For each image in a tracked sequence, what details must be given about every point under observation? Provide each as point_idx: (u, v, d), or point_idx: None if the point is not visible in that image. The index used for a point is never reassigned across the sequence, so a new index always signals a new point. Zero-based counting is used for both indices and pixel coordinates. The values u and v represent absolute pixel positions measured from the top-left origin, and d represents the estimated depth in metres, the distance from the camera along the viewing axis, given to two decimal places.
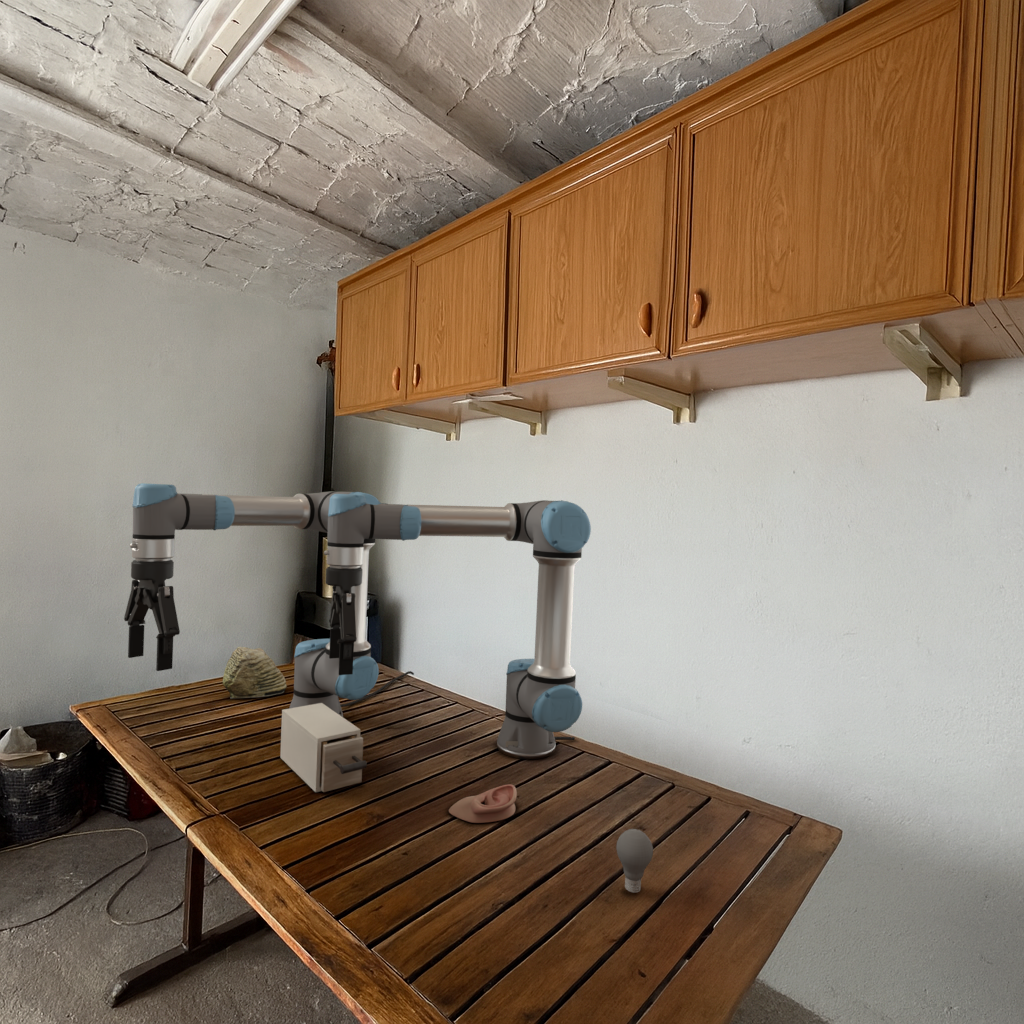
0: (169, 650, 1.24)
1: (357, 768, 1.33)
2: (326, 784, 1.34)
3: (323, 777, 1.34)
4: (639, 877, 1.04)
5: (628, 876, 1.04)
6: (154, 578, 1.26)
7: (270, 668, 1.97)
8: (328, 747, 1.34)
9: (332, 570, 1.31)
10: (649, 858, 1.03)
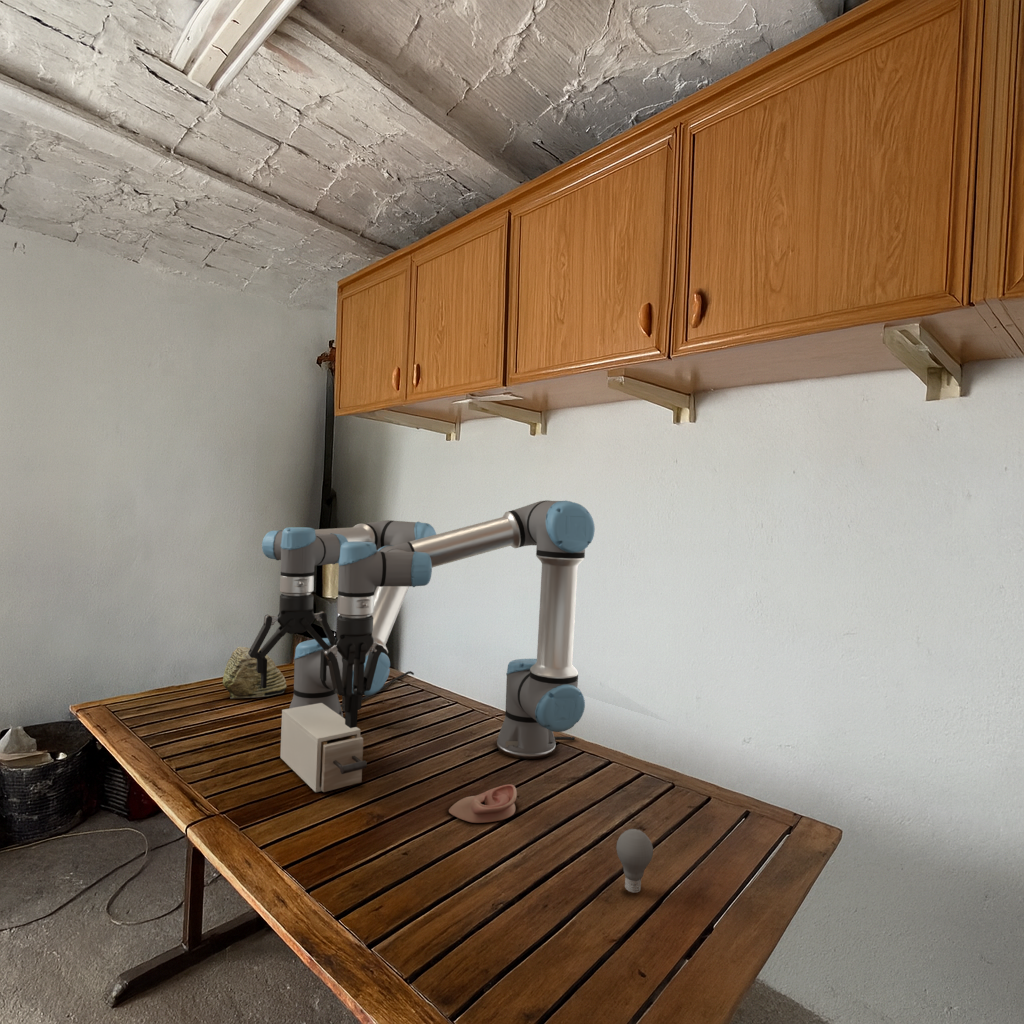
0: None
1: (357, 768, 1.33)
2: (326, 784, 1.34)
3: (323, 777, 1.34)
4: (639, 877, 1.04)
5: (628, 876, 1.04)
6: None
7: (270, 668, 1.97)
8: (328, 747, 1.34)
9: (371, 619, 1.33)
10: (649, 858, 1.03)
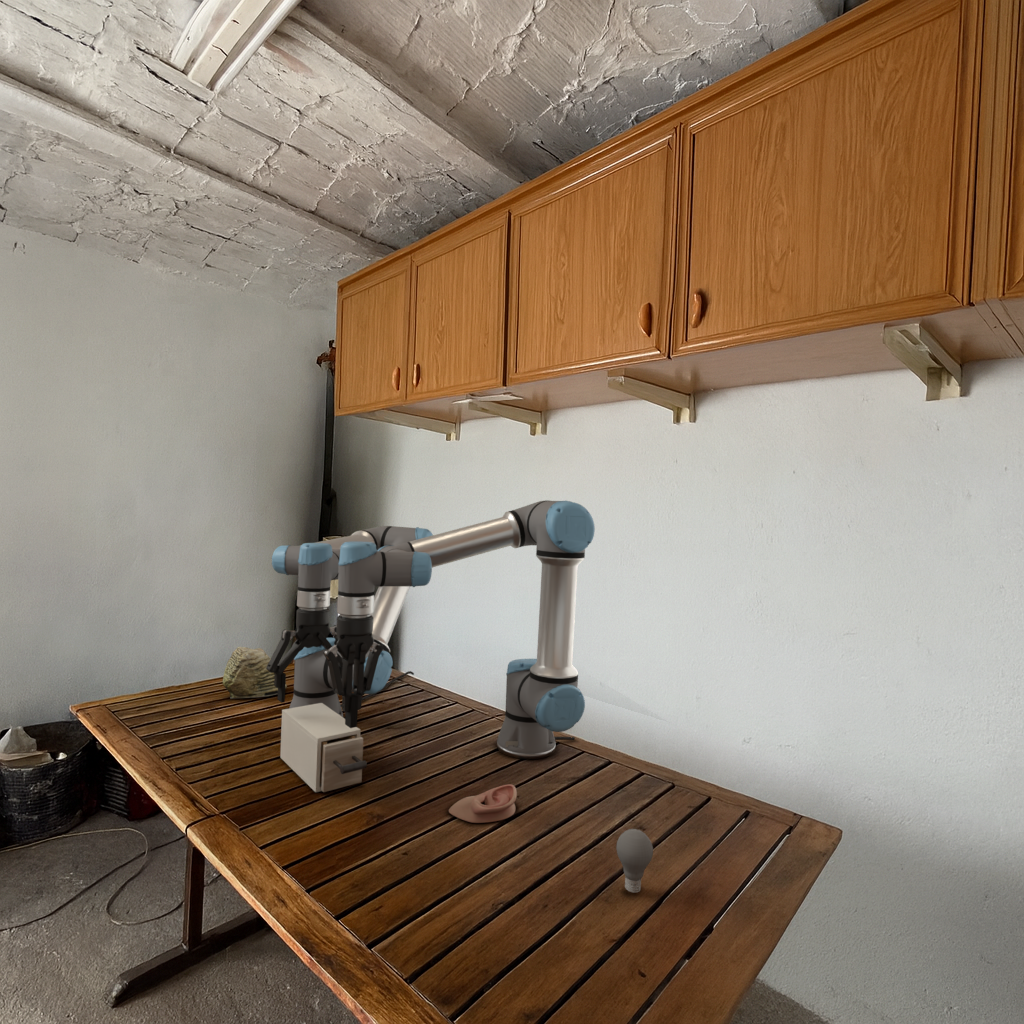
0: None
1: (357, 768, 1.33)
2: (326, 784, 1.34)
3: (323, 777, 1.34)
4: (639, 877, 1.04)
5: (628, 876, 1.04)
6: None
7: None
8: (328, 747, 1.34)
9: (371, 619, 1.33)
10: (649, 858, 1.03)
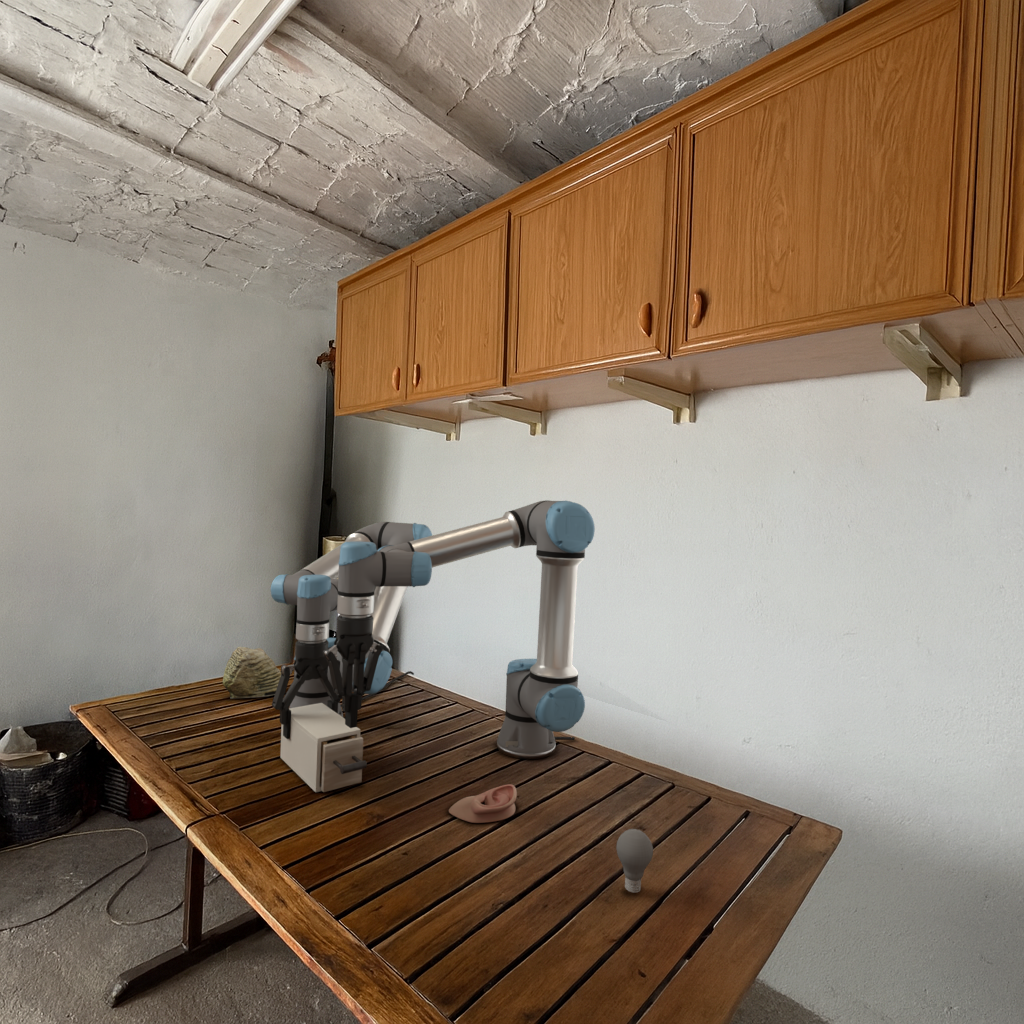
0: None
1: (357, 768, 1.33)
2: (326, 784, 1.34)
3: (323, 777, 1.34)
4: (639, 877, 1.04)
5: (628, 876, 1.04)
6: None
7: (270, 668, 1.97)
8: (328, 747, 1.34)
9: (371, 619, 1.33)
10: (649, 858, 1.03)
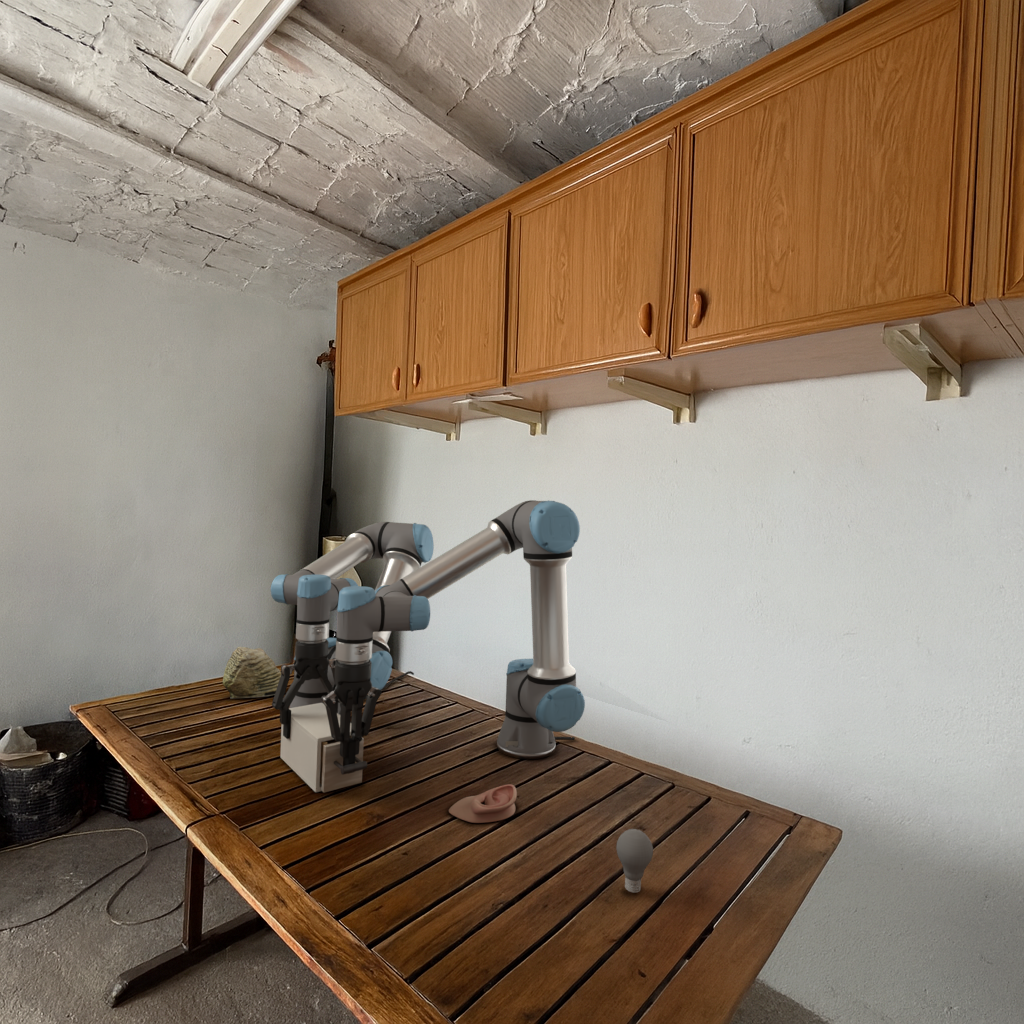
0: None
1: (357, 768, 1.32)
2: (327, 784, 1.34)
3: (323, 777, 1.34)
4: (639, 877, 1.04)
5: (628, 876, 1.04)
6: None
7: (270, 668, 1.97)
8: (328, 747, 1.34)
9: (369, 664, 1.33)
10: (649, 858, 1.03)
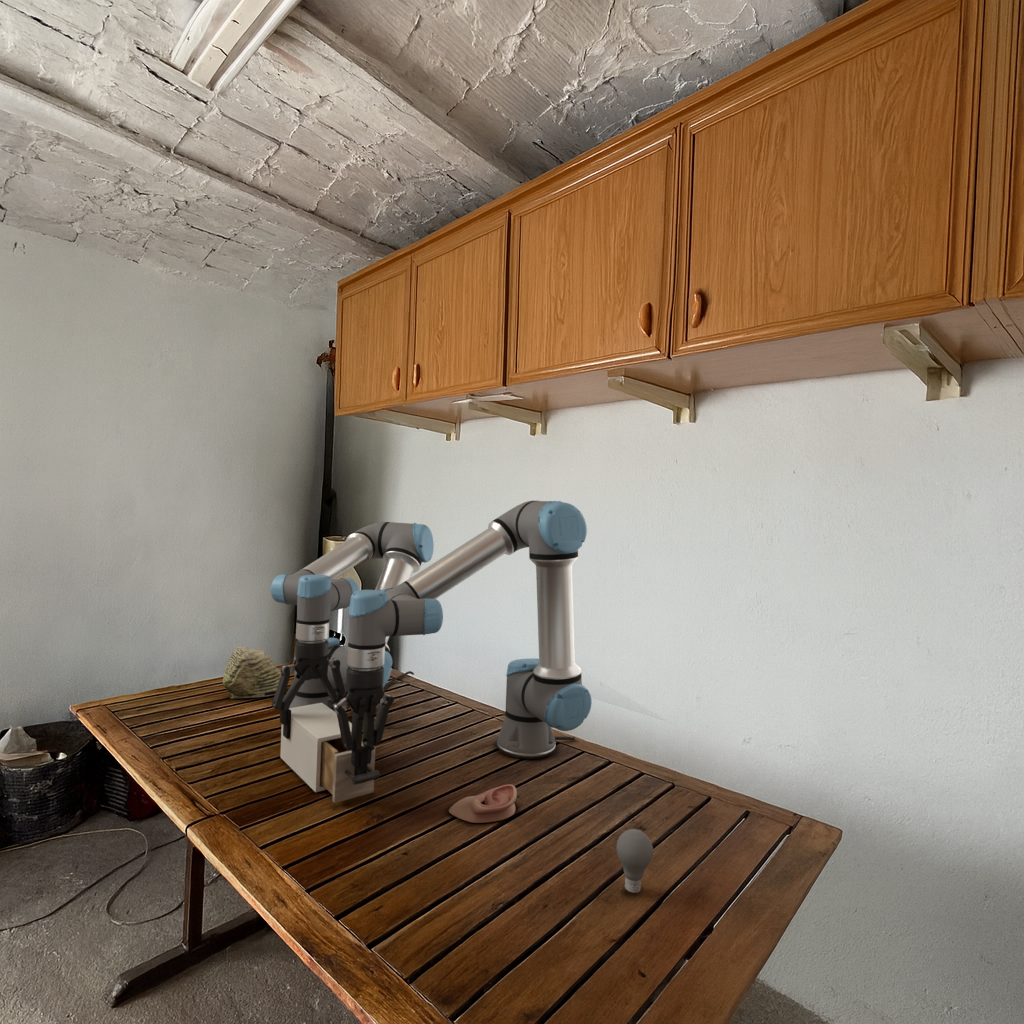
0: None
1: (369, 778, 1.28)
2: (338, 795, 1.30)
3: (334, 787, 1.30)
4: (639, 877, 1.04)
5: (628, 876, 1.04)
6: None
7: (270, 668, 1.97)
8: (339, 756, 1.30)
9: (382, 671, 1.29)
10: (649, 858, 1.03)
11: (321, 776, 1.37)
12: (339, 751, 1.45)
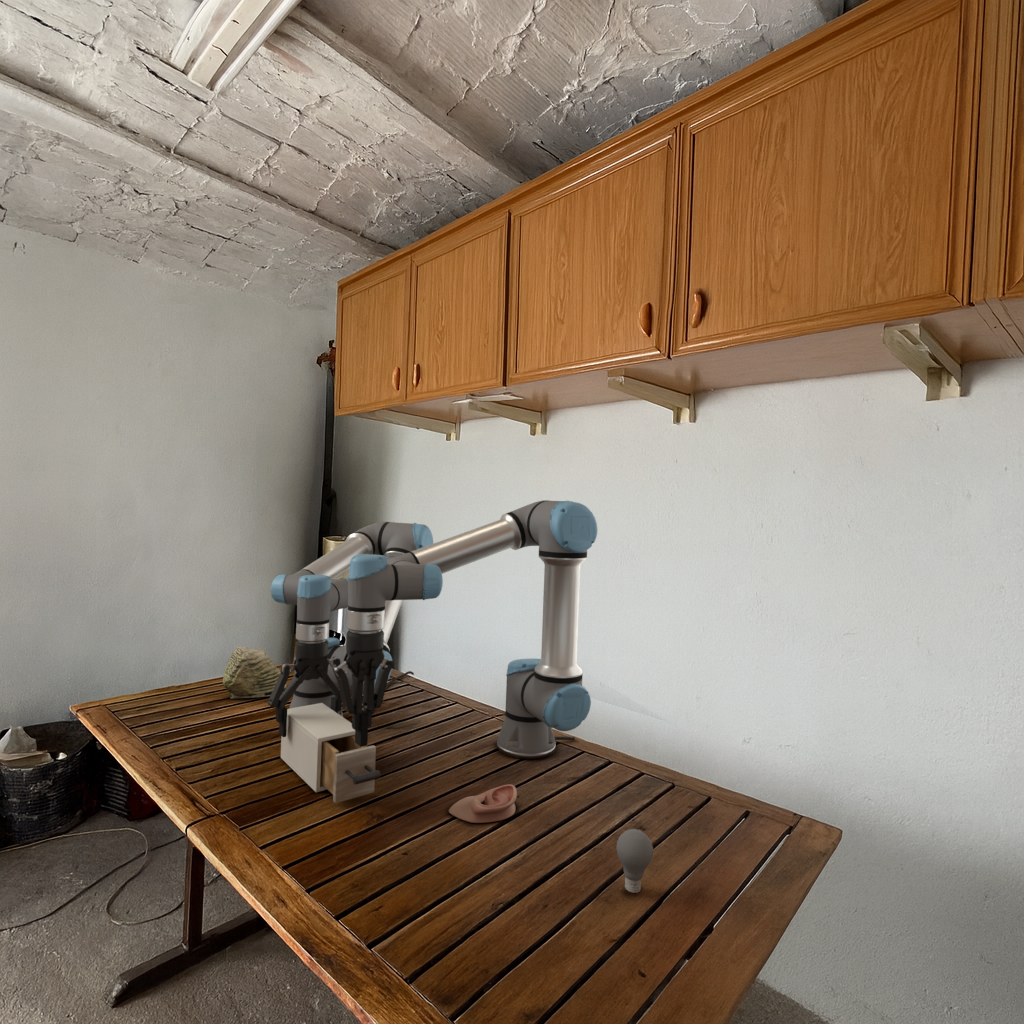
0: None
1: (370, 778, 1.28)
2: (338, 795, 1.30)
3: (335, 787, 1.30)
4: (639, 877, 1.04)
5: (628, 876, 1.04)
6: None
7: (270, 668, 1.97)
8: (340, 756, 1.30)
9: (382, 634, 1.29)
10: (649, 858, 1.03)
11: (322, 776, 1.37)
12: (340, 751, 1.45)
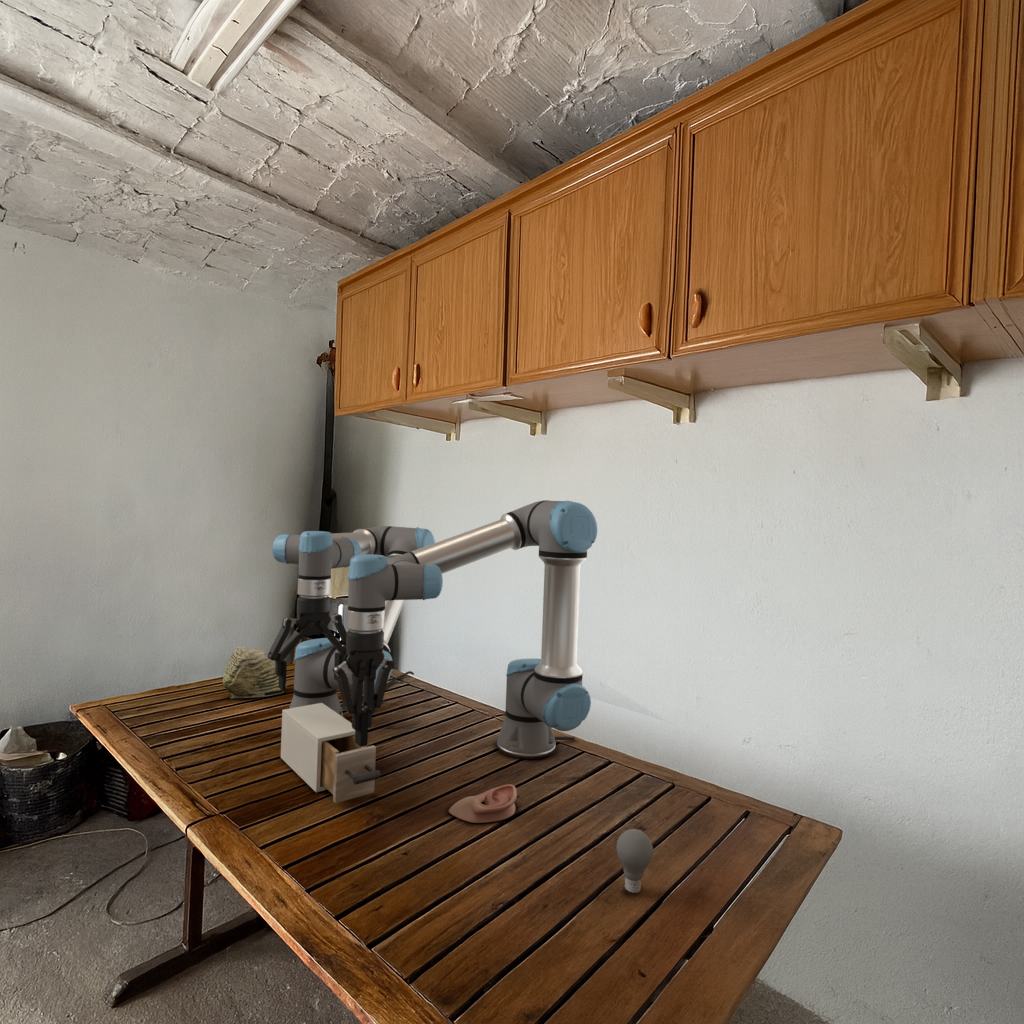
0: None
1: (370, 778, 1.28)
2: (338, 795, 1.30)
3: (335, 787, 1.30)
4: (639, 877, 1.04)
5: (628, 876, 1.04)
6: None
7: (270, 668, 1.97)
8: (340, 756, 1.30)
9: (382, 634, 1.29)
10: (649, 858, 1.03)
11: (322, 776, 1.37)
12: (340, 751, 1.45)
